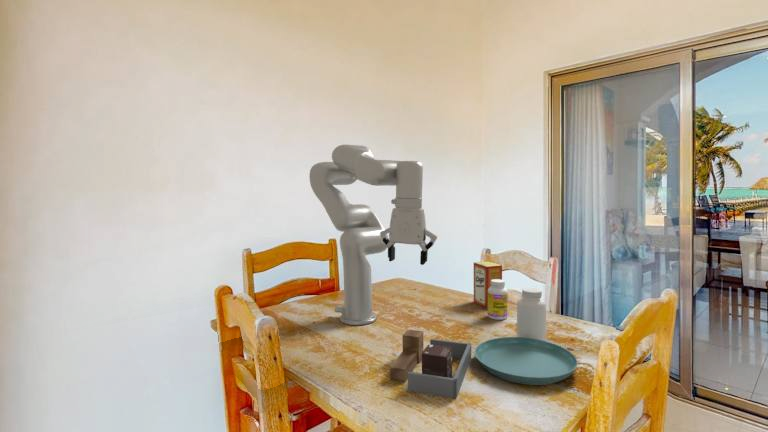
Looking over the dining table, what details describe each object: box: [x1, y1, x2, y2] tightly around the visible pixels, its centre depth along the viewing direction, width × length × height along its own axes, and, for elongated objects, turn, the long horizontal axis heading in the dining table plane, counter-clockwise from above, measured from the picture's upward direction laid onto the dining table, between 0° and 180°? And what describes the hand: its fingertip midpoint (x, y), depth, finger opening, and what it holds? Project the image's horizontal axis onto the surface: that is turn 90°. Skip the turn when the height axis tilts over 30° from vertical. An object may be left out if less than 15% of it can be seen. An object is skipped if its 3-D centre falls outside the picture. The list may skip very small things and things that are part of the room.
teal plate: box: [474, 336, 579, 386], centre depth 101 cm, size 24×24×3 cm
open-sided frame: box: [407, 338, 472, 400], centre depth 97 cm, size 11×22×4 cm, turn 159°
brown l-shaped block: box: [389, 329, 424, 384], centre depth 100 cm, size 4×15×7 cm, turn 159°
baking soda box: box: [473, 261, 503, 309], centre depth 154 cm, size 10×6×16 cm
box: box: [421, 344, 453, 378], centre depth 94 cm, size 6×6×7 cm
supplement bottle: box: [487, 279, 509, 321], centre depth 138 cm, size 7×7×13 cm
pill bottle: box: [516, 287, 547, 342], centre depth 117 cm, size 8×8×15 cm
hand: (407, 262), depth 118 cm, fingers open, 9 cm apart
